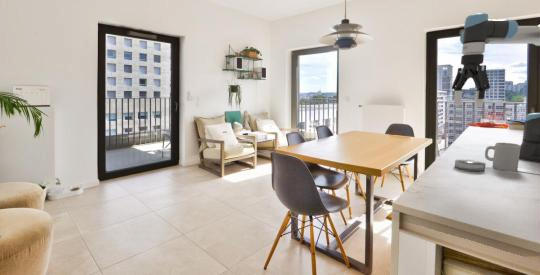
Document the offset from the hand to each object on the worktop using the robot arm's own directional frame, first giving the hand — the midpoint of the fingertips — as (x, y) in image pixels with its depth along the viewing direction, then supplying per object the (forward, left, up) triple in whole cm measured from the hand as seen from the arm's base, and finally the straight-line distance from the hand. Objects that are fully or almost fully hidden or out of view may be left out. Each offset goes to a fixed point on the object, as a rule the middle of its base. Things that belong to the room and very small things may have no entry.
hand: (467, 106), depth 120 cm
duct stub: (-4, 0, -27) cm, 28 cm away
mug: (-18, 0, -28) cm, 33 cm away
